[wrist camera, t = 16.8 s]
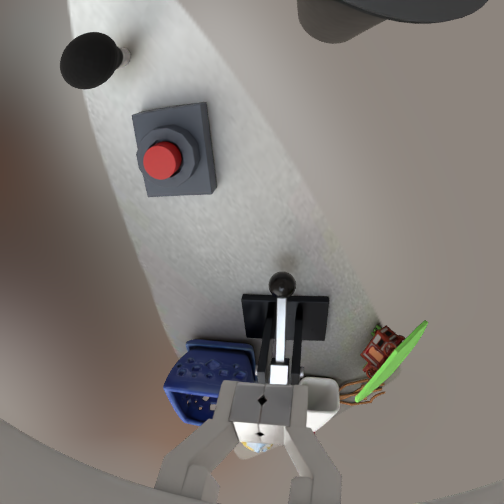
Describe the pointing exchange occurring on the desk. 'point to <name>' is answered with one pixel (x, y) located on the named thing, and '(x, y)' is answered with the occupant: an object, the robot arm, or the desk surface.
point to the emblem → (358, 392)
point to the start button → (162, 160)
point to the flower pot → (207, 376)
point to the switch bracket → (297, 327)
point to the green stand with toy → (386, 355)
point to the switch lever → (281, 325)
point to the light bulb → (91, 60)
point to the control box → (186, 140)
